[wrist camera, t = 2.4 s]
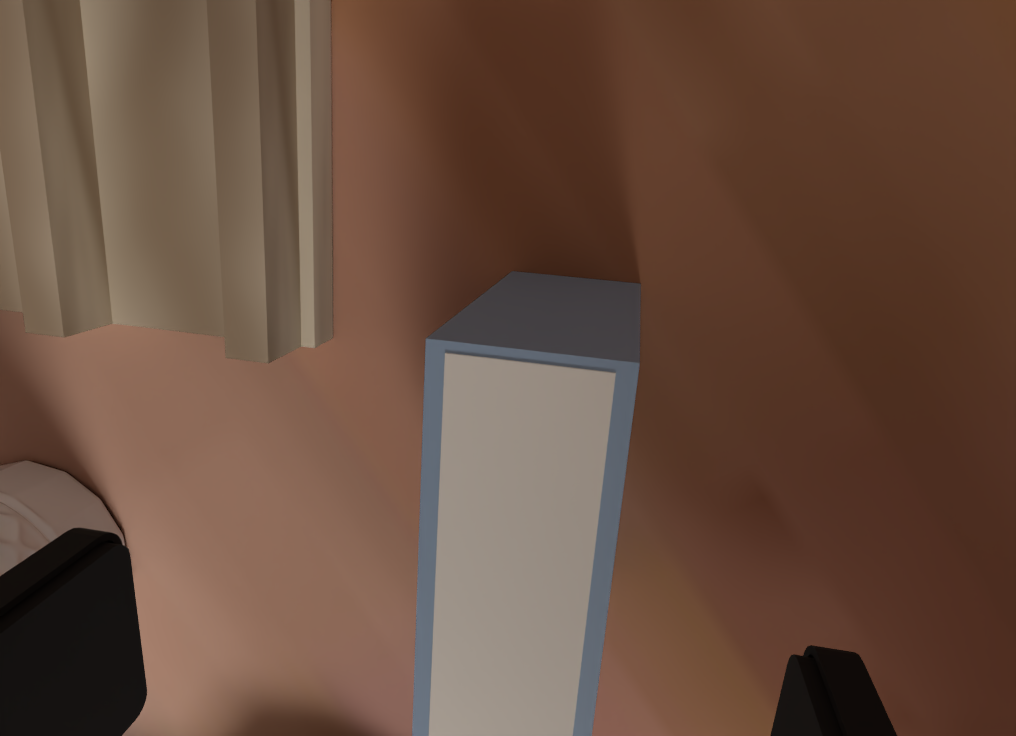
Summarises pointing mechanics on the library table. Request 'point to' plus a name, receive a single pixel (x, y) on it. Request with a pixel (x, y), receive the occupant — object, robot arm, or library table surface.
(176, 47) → the book rack
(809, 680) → the robot arm
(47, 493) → the white cup
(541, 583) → the blue book
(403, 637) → the library table surface
